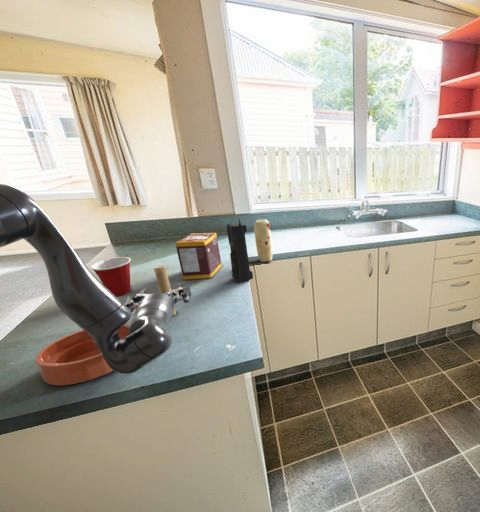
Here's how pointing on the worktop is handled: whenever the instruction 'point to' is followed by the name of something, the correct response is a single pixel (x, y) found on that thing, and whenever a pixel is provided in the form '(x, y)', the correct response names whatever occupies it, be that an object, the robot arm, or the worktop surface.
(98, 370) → the bowl
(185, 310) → the worktop surface
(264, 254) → the food model
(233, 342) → the worktop surface
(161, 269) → the stirring stick
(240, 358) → the worktop surface
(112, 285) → the plastic cup
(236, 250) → the portable radio
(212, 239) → the supplement box
